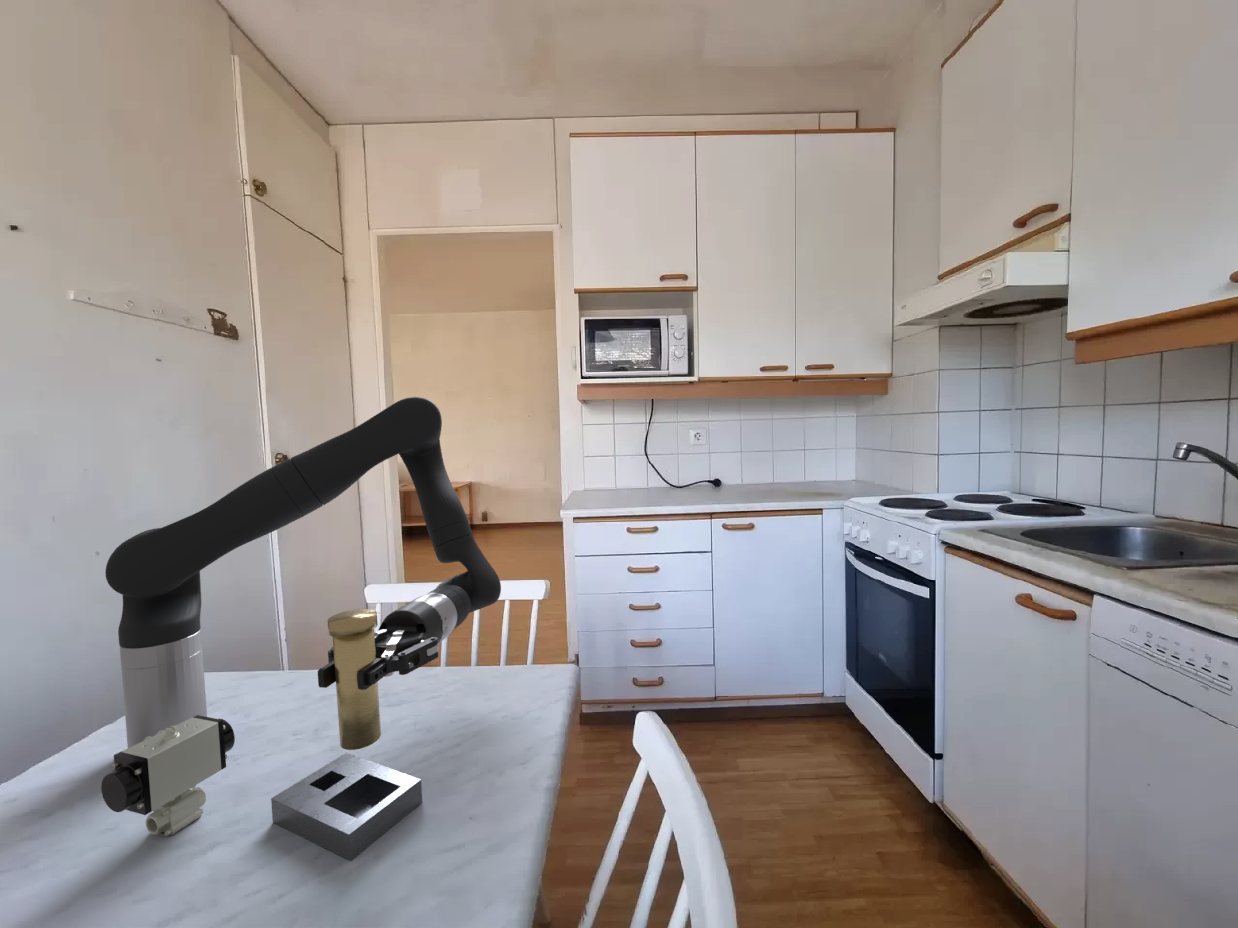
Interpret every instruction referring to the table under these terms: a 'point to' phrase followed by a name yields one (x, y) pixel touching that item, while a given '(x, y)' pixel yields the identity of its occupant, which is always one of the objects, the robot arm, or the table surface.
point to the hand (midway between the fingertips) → (341, 680)
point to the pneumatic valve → (169, 773)
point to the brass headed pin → (355, 677)
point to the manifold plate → (347, 804)
